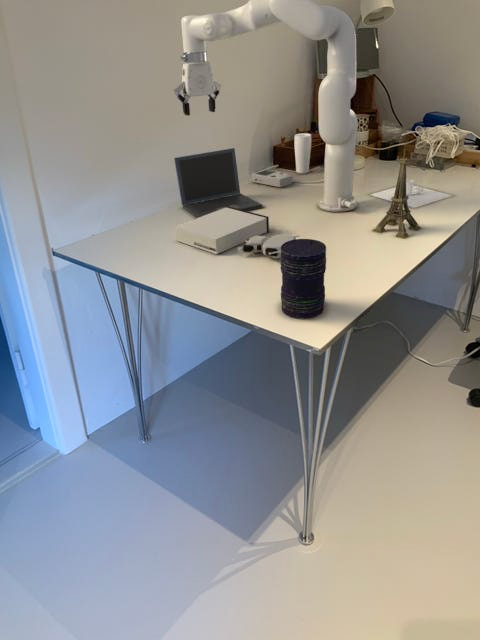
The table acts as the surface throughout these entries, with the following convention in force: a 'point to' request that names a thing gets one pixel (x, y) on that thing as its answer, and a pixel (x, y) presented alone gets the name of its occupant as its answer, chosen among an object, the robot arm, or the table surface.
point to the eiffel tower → (399, 201)
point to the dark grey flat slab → (221, 205)
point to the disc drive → (222, 229)
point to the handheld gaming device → (272, 178)
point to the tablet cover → (207, 176)
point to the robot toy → (266, 245)
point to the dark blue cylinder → (303, 278)
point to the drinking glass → (302, 152)
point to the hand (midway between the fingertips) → (199, 113)
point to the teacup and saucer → (414, 195)
